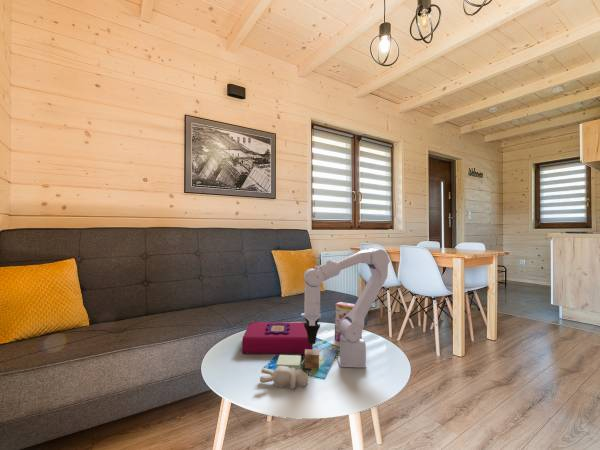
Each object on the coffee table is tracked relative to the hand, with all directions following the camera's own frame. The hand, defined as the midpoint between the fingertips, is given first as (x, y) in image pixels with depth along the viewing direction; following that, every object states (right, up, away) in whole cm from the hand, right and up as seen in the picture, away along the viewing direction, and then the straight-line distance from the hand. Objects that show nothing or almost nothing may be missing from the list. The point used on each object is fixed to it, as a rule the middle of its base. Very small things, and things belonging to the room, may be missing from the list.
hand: (311, 339), depth 113 cm
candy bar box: (+17, -10, +24) cm, 31 cm away
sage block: (-8, -10, -3) cm, 13 cm away
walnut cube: (0, -10, 0) cm, 10 cm away
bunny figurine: (-9, -10, -14) cm, 19 cm away
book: (-13, -10, +20) cm, 26 cm away
